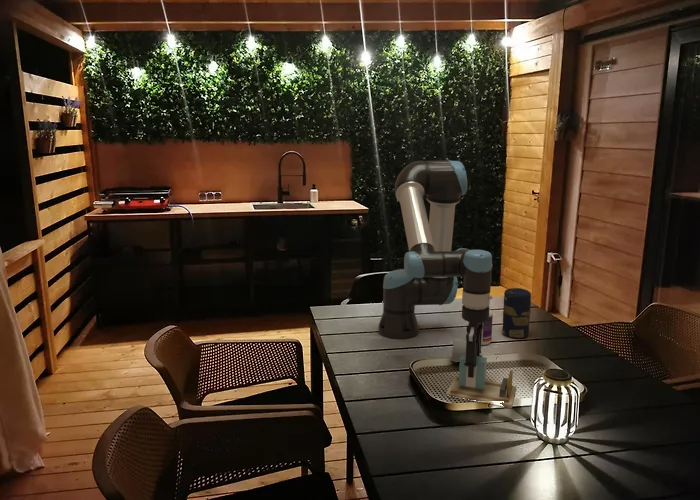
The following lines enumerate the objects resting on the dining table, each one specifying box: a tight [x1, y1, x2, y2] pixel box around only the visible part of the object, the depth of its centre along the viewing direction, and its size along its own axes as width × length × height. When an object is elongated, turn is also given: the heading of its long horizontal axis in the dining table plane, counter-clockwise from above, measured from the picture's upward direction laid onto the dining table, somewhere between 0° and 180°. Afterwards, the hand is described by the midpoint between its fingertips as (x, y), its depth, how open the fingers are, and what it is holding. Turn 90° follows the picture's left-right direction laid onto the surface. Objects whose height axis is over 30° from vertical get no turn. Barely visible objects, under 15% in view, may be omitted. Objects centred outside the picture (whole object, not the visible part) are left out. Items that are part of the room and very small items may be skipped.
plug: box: [458, 354, 488, 389], centre depth 159 cm, size 7×4×8 cm, turn 68°
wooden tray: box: [445, 370, 517, 409], centre depth 158 cm, size 18×12×7 cm, turn 68°
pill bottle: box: [481, 305, 494, 346], centre depth 196 cm, size 8×8×14 cm
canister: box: [501, 287, 532, 339], centre depth 203 cm, size 10×10×18 cm
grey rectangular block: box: [451, 337, 466, 362], centre depth 181 cm, size 11×8×8 cm
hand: (472, 383), depth 159 cm, fingers closed on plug, 4 cm apart
